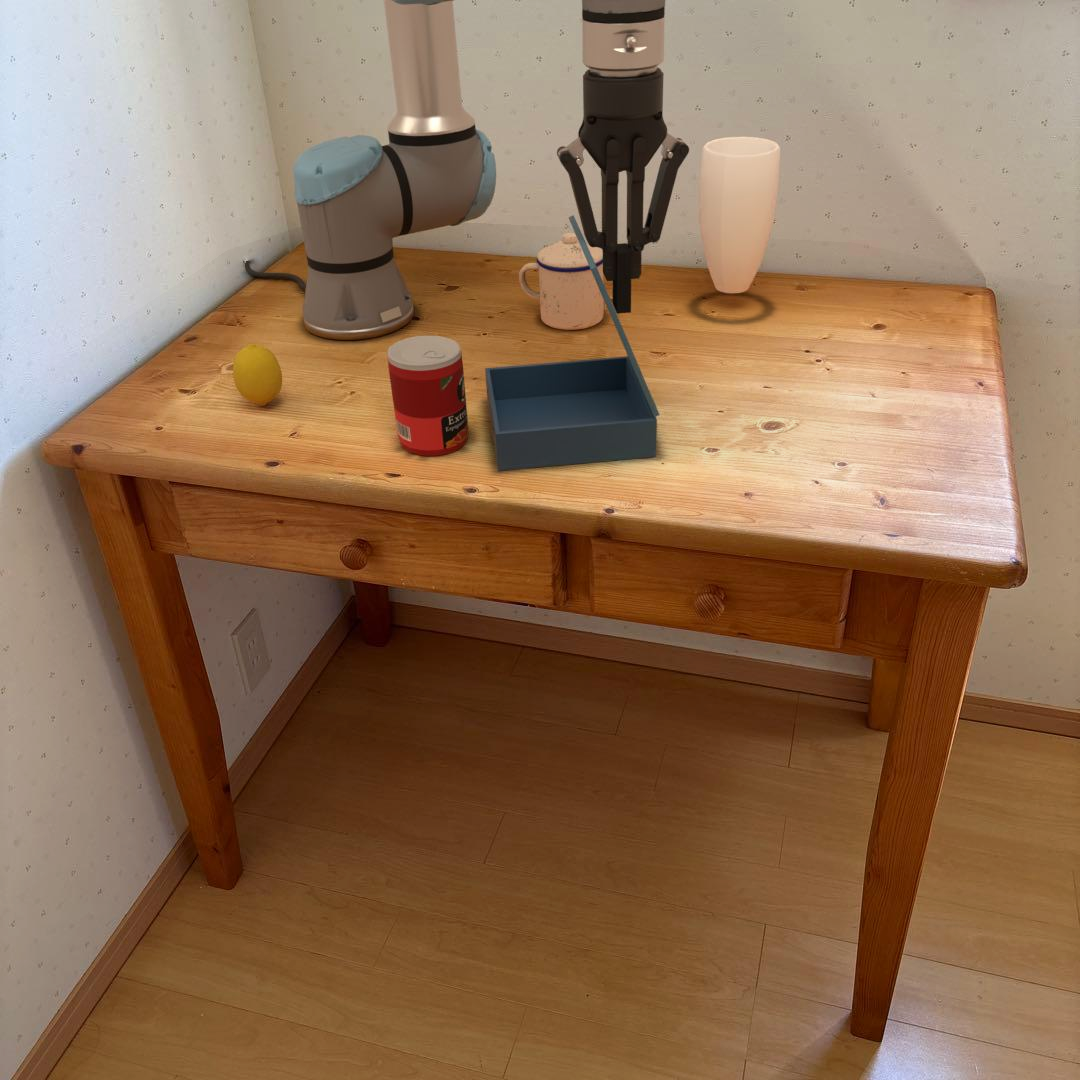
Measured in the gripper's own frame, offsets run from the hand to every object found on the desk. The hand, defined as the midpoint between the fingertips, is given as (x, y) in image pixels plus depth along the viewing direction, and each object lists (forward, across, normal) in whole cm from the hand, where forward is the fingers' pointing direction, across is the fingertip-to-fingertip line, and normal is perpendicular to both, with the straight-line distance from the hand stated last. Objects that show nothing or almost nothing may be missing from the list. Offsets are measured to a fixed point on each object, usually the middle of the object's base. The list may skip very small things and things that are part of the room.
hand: (621, 307), depth 111 cm
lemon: (+14, -41, +12) cm, 45 cm away
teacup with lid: (+14, -2, +32) cm, 35 cm away
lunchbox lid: (+1, -1, 0) cm, 1 cm away
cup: (+14, +21, +30) cm, 39 cm away
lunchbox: (+14, -6, 0) cm, 15 cm away
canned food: (+14, -21, 0) cm, 25 cm away
